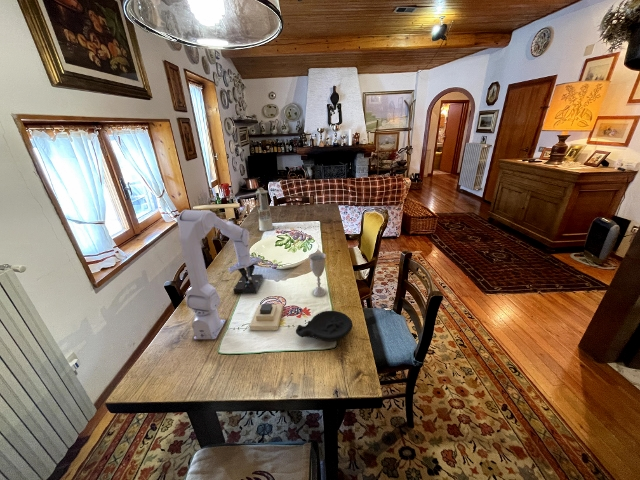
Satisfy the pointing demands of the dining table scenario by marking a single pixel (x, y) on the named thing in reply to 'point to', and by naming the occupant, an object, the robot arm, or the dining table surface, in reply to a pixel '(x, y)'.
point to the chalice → (318, 270)
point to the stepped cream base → (267, 318)
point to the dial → (249, 278)
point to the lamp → (264, 221)
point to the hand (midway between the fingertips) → (248, 280)
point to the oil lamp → (326, 326)
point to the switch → (266, 308)
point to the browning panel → (248, 285)
